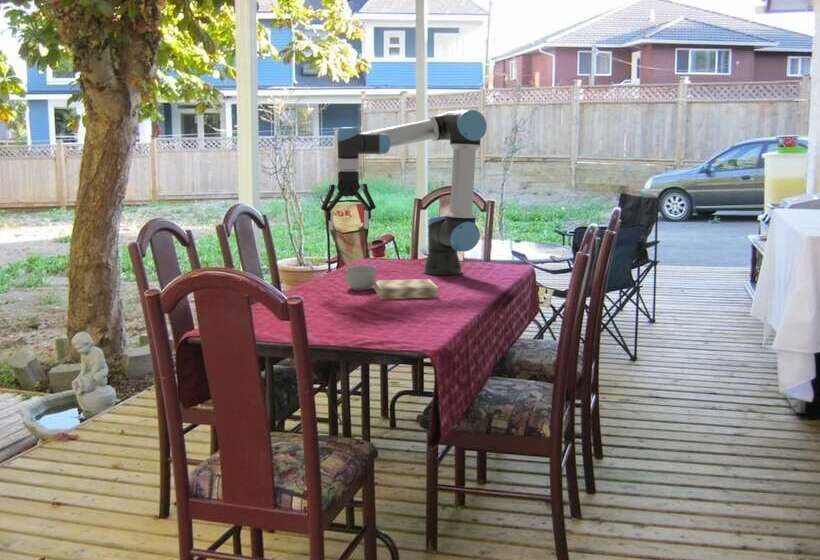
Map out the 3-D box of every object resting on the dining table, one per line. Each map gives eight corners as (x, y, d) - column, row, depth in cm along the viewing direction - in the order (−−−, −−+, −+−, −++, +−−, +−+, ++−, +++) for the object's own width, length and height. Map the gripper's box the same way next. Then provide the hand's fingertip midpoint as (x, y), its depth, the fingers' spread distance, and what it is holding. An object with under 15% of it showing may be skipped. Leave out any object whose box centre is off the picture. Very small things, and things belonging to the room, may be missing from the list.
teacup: (371, 292, 313) (371, 269, 312) (342, 291, 316) (342, 269, 314) (381, 285, 327) (380, 264, 326) (352, 284, 329) (352, 263, 328)
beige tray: (429, 288, 320) (429, 278, 319) (438, 297, 302) (438, 286, 302) (374, 290, 317) (374, 280, 316) (380, 299, 299) (380, 288, 299)
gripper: (376, 169, 327) (377, 226, 331) (312, 170, 318) (313, 229, 321) (384, 170, 321) (384, 228, 324) (318, 171, 311) (318, 231, 314)
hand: (348, 229), depth 323 cm, fingers open, 13 cm apart
